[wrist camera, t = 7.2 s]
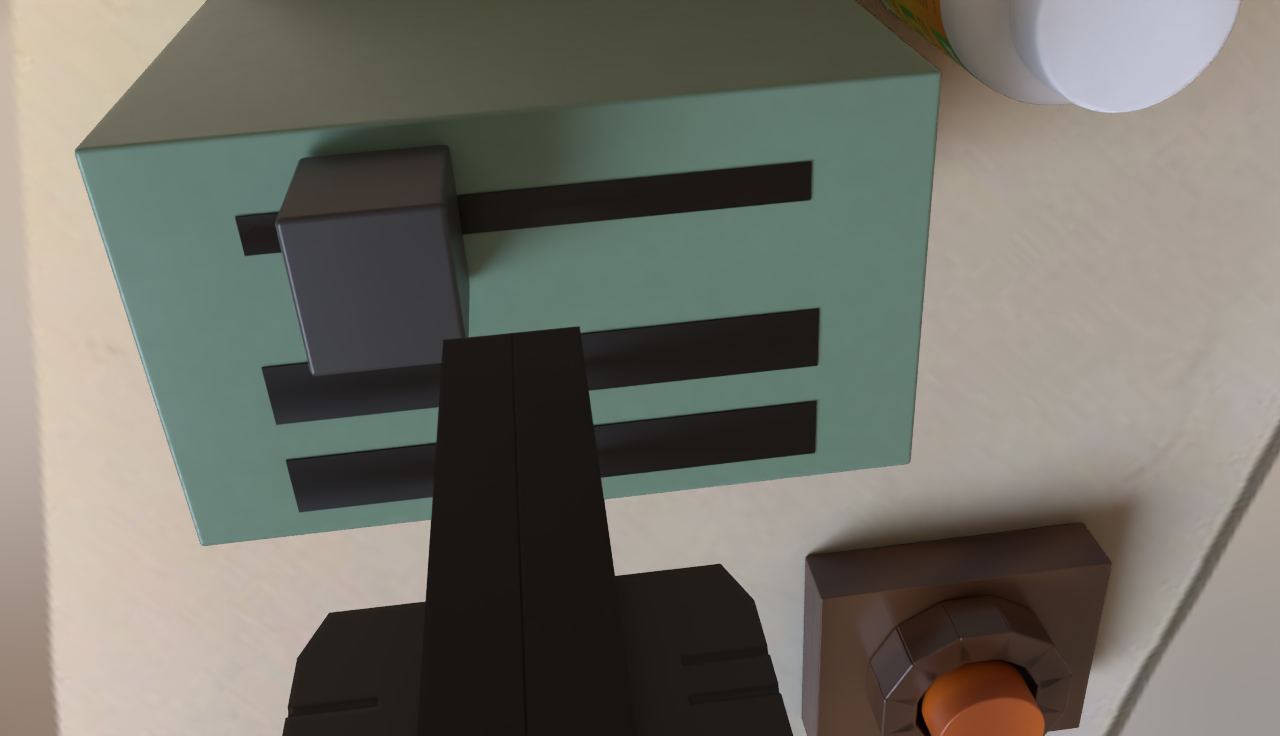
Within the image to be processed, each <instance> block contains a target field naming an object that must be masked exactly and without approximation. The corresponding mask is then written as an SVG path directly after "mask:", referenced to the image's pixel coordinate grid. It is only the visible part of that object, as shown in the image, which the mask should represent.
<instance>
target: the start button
mask: <svg viewBox="0 0 1280 736" xmlns="http://www.w3.org/2000/svg"><path fill="white" fill-rule="evenodd" d="M922 715H923V718H924V720H925V722H926V725H927V727H928V729H929V732H930V734H931V736H1043V733H1044V729H1045V720H1044V716H1043V714H1042V712H1041V710H1040V708H1039V706H1038V705H1037V703H1036V701H1035V699H1034V697H1033V695H1032V694H1031V692H1030V690H1029V688H1028V686H1027V684H1026V683H1025V681H1024V679H1023V677H1022V675H1021V674H1020V672H1019V671H1018V670H1017V669H1016V668H1014V667H1013V666H1011V665H1010V664H1008V663H1005V662H1003V661H999V660H987V661H980V662H972V663H966V664H964V665H962V666H960V667H958V668H956V669H954V670H953V671H951V672H949V673H947V674H945V675H943V676H941V677H939V678H937V679H936V680H935V681H934V682H933V683H932V685H931V686H930V687H929V688H928V690H927V691H926V693H925V695H924V698H923V701H922Z"/></svg>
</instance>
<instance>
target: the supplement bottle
mask: <svg viewBox="0 0 1280 736" xmlns="http://www.w3.org/2000/svg"><path fill="white" fill-rule="evenodd" d="M880 1H881V2H882V3H883V4H884V5H885V6H886V7H887V8H888V9H889V10H890V11H891V12H892V13H893V14H894V15H896V16H897V17H898V18H899V19H901V20H902V21H904V22H905V23H906V24H907V25H909V26H910V27H911V28H913V29H914V30H915V31H917V32H918V33H919V34H920V35H922V36H923V37H924V38H926V39H927V40H929V41H930V42H931V43H933V44H934V45H935V46H936V47H938V48H939V49H940V50H942V51H943V52H944V53H945V54H947V55H948V56H949V57H950V58H952V59H953V60H954V61H956V62H957V63H958V64H959V65H961V66H962V67H963V68H964V69H966V70H967V71H968V72H969V73H970V74H972V75H973V76H974V77H975V78H977V79H978V80H979V81H981V82H982V83H984V84H985V85H987V86H988V87H990V88H991V89H993V90H995V91H997V92H998V93H1000V94H1003V95H1005V96H1007V97H1009V98H1012V99H1015V100H1018V101H1021V102H1026V103H1031V104H1039V105H1061V104H1070V103H1074V104H1076V105H1079V106H1081V107H1084V108H1086V109H1090V110H1093V111H1099V112H1107V113H1122V112H1129V111H1134V110H1139V109H1143V108H1146V107H1149V106H1152V105H1154V104H1157V103H1159V102H1161V101H1163V100H1165V99H1167V98H1169V97H1171V96H1172V95H1174V94H1175V93H1177V92H1178V91H1180V90H1181V89H1183V88H1184V87H1186V86H1187V85H1188V84H1189V83H1190V82H1192V81H1193V80H1194V79H1195V78H1196V77H1197V76H1198V75H1199V74H1200V73H1201V72H1202V71H1203V70H1204V69H1205V68H1206V67H1207V66H1208V65H1209V64H1210V63H1211V62H1212V60H1213V59H1214V58H1215V57H1216V55H1217V54H1218V52H1219V51H1220V49H1221V48H1222V46H1223V45H1224V43H1225V41H1226V39H1227V38H1228V36H1229V34H1230V32H1231V30H1232V28H1233V26H1234V23H1235V20H1236V18H1237V15H1238V11H1239V8H1240V4H1241V0H880Z"/></svg>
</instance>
